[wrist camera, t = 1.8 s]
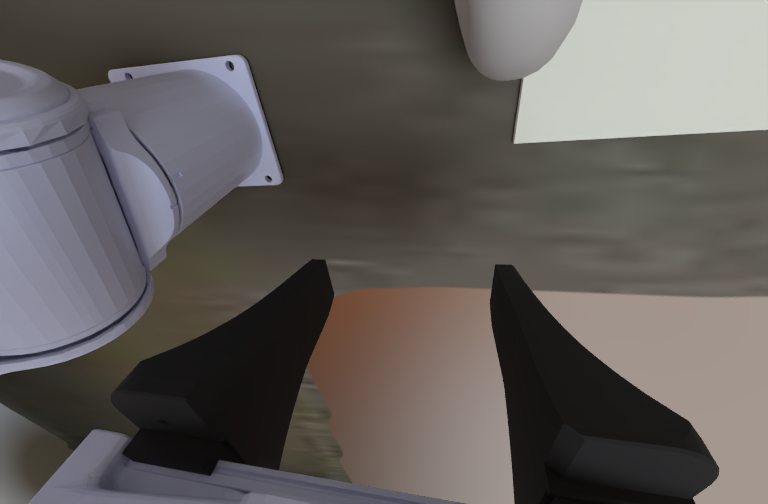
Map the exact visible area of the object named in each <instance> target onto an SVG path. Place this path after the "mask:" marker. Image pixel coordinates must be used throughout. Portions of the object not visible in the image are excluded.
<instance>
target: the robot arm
mask: <svg viewBox="0 0 768 504" xmlns="http://www.w3.org/2000/svg"><path fill="white" fill-rule="evenodd" d="M230 61H231V62H232V63H233V65H234V70H232V69H231V68H230V66H229V62H230ZM130 74H131V76H132V77H133V79H131V77H130ZM108 77H109V79H110V81H111V83H108V84H103V85H97V86H92V87H87V88H81V89H74V88H73V87H71V86H69V85H67V84H65V83H63V82H61V81H58V80H57V79H55V78H53V77H52V76H50V75H49V74H47V73H45V72H43V71H41V70H39V69H36V68H33V67H31V66H27V65H24V64H20V63H15V62H11V61H6V60H0V375H1V374H5V373H9V372H13V371H19V370H26V369H32V368H38V367H44V366H49V365H53V364H57V363H61V362H64V361H68V360H70V359H73V358H76V357H79V356H82V355H84V354H86V353H89V352H91V351H93V350H95V349H97V348H99V347H101V346H103V345H105V344H107V343H108V342H110V341H112V340H114V339H115V338H117V337H118V336H119V335H121V334H122V333H124V332H125V331H127V330H128V329H129V328H130V327H131V326H132V325H133V324H135V323H136V322H137V321H138V320H139V318H140V317H141V316H142V315H143V314H144V313H145V311H146V310H147V308H148V306H149V305H150V303H151V300H152V297H153V292H154V284H153V279H152V277H151V274H150V273H149V272H150V271H151V270H152V269H153V268H155V267H156V266H157V265H158V264H159V263H160V262H161V261H163V260H164V259H165V258H166V257H167V255H166V246H167V244H168V243H169V242H170V241H171V240H172V239H173V238H174V237H175V236H176V235H178V234H179V233H180V232H181V231H183V230H184V229H185V228H186V227H188V226H189V225H190V224H191V223H192V222H194V221H195V220H196V219H197V218H199V217H200V216H201V215H202V214H203V213H205V212H206V211H207V210H208V209H210V208H211V207H212V206H213V205H214V204H216V203H217V202H218V201H219V200H221V199H222V198H223V197H224V196H225V195H227V194H228V193H229V192H230V191H232V190H233V189H234V188H235V187H238V186H264V185H279V184H281V183H282V182H283V174H282V171H281V168H280V164H279V161H278V158H277V155H276V152H275V148H274V145H273V142H272V139H271V135H270V132H269V129H268V126H267V122H266V119H265V116H264V113H263V110H262V106H261V103H260V100H259V97H258V93H257V90H256V87H255V84H254V81H253V77H252V74H251V71H250V68H249V64H248V62H247V60H246V59H245V58H244V57H243V56H242V55H229V56H221V57H212V58H204V59H196V60H187V61H179V62H171V63H162V64H154V65H146V66H138V67H129V68H121V69H113V70H110V71H109V72H108ZM267 176H270V177H271V178H272V180H270V179H268V177H267ZM333 298H334V291H333V288H332V284H331V280H330V276H329V272H328V269H327V265H326V261H325V260H315V259H312V260H311V261H309V262H308V263H307V264H305V265H304V266H303V267H302V268H301V269H299V270H298V271H297V272H296V273H295V274H293V275H292V276H291V277H290V278H289V279H287V280H286V281H285V282H284V283H282V284H281V285H280V286H279V287H277V288H276V289H275V290H274V291H272V292H271V293H270V294H268V295H267V296H266V297H264V298H263V299H262V300H260V301H259V302H258V303H256V304H255V305H253V306H252V307H250V308H249V309H247V310H246V311H244V312H243V313H241V314H239V315H238V316H236V317H235V318H233V319H231V320H230V321H228V322H226V323H224V324H222V325H221V326H219V327H217V328H215V329H213V330H211V331H210V332H208V333H206V334H204V335H202V336H200V337H198V338H196V339H193V340H191V341H189V342H187V343H185V344H183V345H180V346H178V347H176V348H173V349H171V350H168V351H166V352H163V353H161V354H158V355H156V356H153V357H151V358H148V359H146V360H143V361H141V362H140V363H139V364H138V365H137V366H136V367H135V368H134V369H133V370H132V372H131V373H130V374H129V375H128V376H127V377H126V378H125V379H124V380H123V381H122V382H121V384H120V385H119V386H118V387H117V388H116V389H115V390H114V391H113V392H112V393H111V402H112V403H113V405H114V406H115V407H116V408H117V409H118V410H119V411H120V412H121V413H122V414H123V415H125V416H126V417H127V418H128V419H129V420H130V421H132V422H133V423H134V424H135V425H136V426H138V427H139V428H140V430H139V431H138V432H137V434H136V435H135V436H134V438H133V439H132V438H131V437H129V436H127V435H124V434H121V433H116V432H111V431H105V430H99V429H95V430H93V431H92V432H91V433H90V434H89V435H88V436H87V437H86V439H85V440H84V441H83V442H82V443H81V444H80V445H79V446H78V448H77V449H76V450H75V451H74V452H73V453H72V454H71V456H70V457H69V458H68V459H67V460H66V461H65V462H64V463H63V465H62V466H61V467H60V468H59V469H58V470H57V471H56V473H55V474H54V475H53V476H52V477H51V478H50V479H49V480H48V482H47V483H46V484H45V485H44V486H43V487H42V488H41V490H40V491H39V492H38V493H37V494H36V495H35V496H34V497H33V499H32V500H31V501H30V502H29V503H28V504H464V503H459V502H453V501H447V500H441V499H436V498H430V497H425V496H419V495H413V494H408V493H402V492H397V491H390V490H385V489H380V488H374V487H368V486H362V485H357V484H351V483H346V482H340V481H335V480H329V479H323V478H318V477H312V476H306V475H301V474H295V473H289V472H284V471H279V466H280V462H281V458H282V453H283V449H284V444H285V440H286V436H287V432H288V428H289V424H290V421H291V417H292V413H293V409H294V406H295V402H296V399H297V395H298V392H299V389H300V386H301V382H302V379H303V376H304V373H305V370H306V367H307V364H308V362H309V359H310V357H311V355H312V352H313V350H314V347H315V345H316V343H317V341H318V339H319V336H320V334H321V332H322V329H323V327H324V325H325V322H326V320H327V318H328V315H329V312H330V309H331V305H332V301H333ZM490 310H491V322H492V329H493V333H494V338H495V343H496V348H497V353H498V358H499V362H500V367H501V371H502V376H503V382H504V388H505V397H506V406H507V415H508V426H509V436H510V447H511V460H512V472H513V486H514V500H515V504H695V502H694V500H693V497H694V496H696V495H697V494H698V493H700V492H701V491H703V490H704V489H705V488H707V487H708V486H710V485H711V484H712V483H713V482H714V481H715V480H716V479H717V477H718V475H719V467H718V465H717V464H716V462H715V461H714V459H713V457H712V456H711V454H710V452H709V450H708V449H707V447H706V445H705V444H704V442H703V441H702V439H701V437H700V436H699V435H698V434H697V432H696V431H695V429H694V428H693V426H692V425H691V423H690V422H689V421H688V420H686V419H684V418H683V417H681V416H680V415H678V414H677V413H675V412H673V411H672V410H670V409H669V408H667V407H666V406H664V405H662V404H661V403H659V402H658V401H656V400H655V399H653V398H651V397H650V396H648V395H647V394H645V393H644V392H642V391H641V390H640V389H638V388H637V387H635V386H634V385H632V384H631V383H630V382H628V381H627V380H625V379H624V378H623V377H621V376H620V375H619V374H617V373H616V372H615V371H613V370H612V369H611V368H609V367H608V366H607V365H606V364H604V363H603V362H602V361H601V360H599V359H598V358H597V357H596V356H594V355H593V354H592V353H590V352H589V351H588V350H587V349H586V348H585V347H583V346H582V345H581V344H580V343H579V342H578V341H577V340H576V339H575V338H574V337H573V336H572V335H571V334H570V333H569V332H568V331H567V330H565V329H564V328H563V326H562V325H561V324H559V322H558V321H557V320H556V319H555V318H554V317H553V316H552V315H551V314H550V313H549V312H548V310H547V309H546V308H545V307H544V306H543V304H542V303H541V302H540V301H539V300H538V298H537V297H536V296H535V295H534V293H533V292H532V291H531V290H530V288H529V287H528V286H527V284H526V283H525V282H524V280H523V279H522V277H521V276H520V275H519V273H518V272H517V270H516V269H515V267H514V266H513V265H496V264H495V270H494V277H493V284H492V292H491V299H490Z"/></svg>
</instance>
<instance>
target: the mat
mask: <svg viewBox="0 0 768 504" xmlns="http://www.w3.org/2000/svg"><path fill="white" fill-rule="evenodd" d="M750 130H768V0H583V1H582V4H581V7H580V10H579V13H578V16H577V19H576V22H575V24H574V25H573V27H572V29H571V30H570V32H569V33H568V35H567V36H566V38H565V40H564V41H563V43H562V44H561V46H560V47H559V49H558V50H557V52H556V53H555V55H554V56H553V58H552V59H551V60H550V61H549V62H548V63H547V64H545V65H544V66H543V67H542V68H541V69H540V70H539V71H537V72H535V73H533V74H531V75H529V76H527V77H525V78H522V80H521V87H520V94H519V101H518V107H517V114H516V121H515V128H514V135H513V143H514V144H515V143H534V142H552V141H570V140H588V139H606V138H624V137H642V136H660V135H678V134H696V133H714V132H732V131H750Z"/></svg>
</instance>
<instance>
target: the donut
mask: <svg viewBox="0 0 768 504" xmlns="http://www.w3.org/2000/svg"><path fill="white" fill-rule="evenodd" d="M454 1H455V7H456V11H457V16H458V20H459V25H460V29H461V33H462V36H463V40H464V43H465V47H466V50H467V53H468V56H469V58H470V60H471V62H472V63H473V65H474V66H475V67H476V69H477V70H478V71H479V73H481V74H482V75H484V76H486V77H487V78H489V79H492V80H498V81H507V80H514V79H519V78H525V77H527V76H529V75H531V74H533V73H535V72H537V71H539V70H540V69H541V68H542V67H543V66H544V65H545V64H547V63H548V62H549V61H550V60H551V59H552V58H553V56H554V55H555V53H556V52H557V50H558V49H559V47H560V46H561V44H562V43H563V41H564V40H565V38H566V36H567V35H568V33H569V32H570V30H571V29H572V27H573V25H574V24H575V22H576V19H577V16H578V13H579V10H580V7H581V4H582V1H583V0H454Z"/></svg>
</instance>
